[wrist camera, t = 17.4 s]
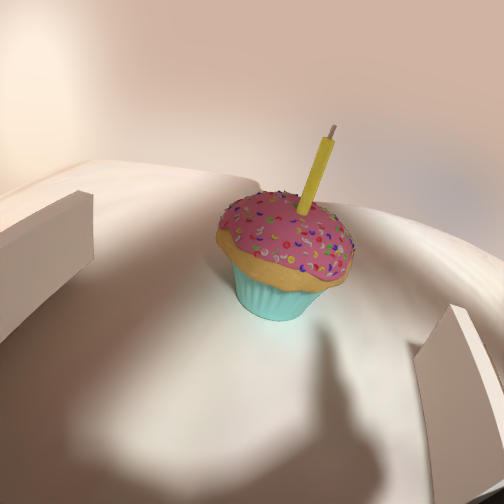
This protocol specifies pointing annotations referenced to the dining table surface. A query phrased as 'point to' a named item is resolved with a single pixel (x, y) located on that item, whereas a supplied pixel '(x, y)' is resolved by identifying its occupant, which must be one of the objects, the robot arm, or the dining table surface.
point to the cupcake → (285, 247)
